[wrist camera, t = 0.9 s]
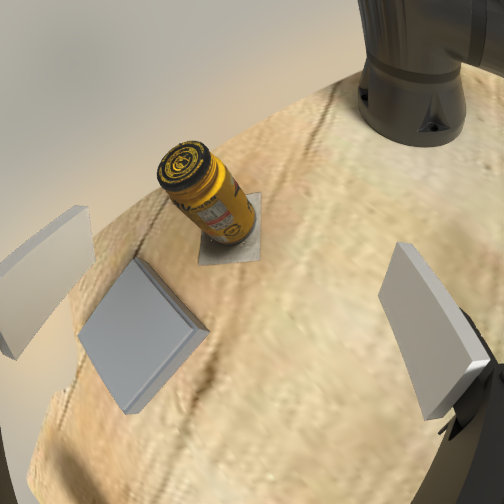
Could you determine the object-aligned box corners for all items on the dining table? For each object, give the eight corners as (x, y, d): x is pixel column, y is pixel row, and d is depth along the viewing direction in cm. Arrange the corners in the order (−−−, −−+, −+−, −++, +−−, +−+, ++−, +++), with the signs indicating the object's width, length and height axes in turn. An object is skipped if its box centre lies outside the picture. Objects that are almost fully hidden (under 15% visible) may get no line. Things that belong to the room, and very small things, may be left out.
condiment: (261, 192, 35) (219, 124, 25) (260, 260, 32) (209, 205, 22) (206, 202, 38) (152, 144, 27) (199, 266, 35) (133, 220, 24)
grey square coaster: (147, 263, 37) (133, 254, 35) (210, 332, 31) (196, 328, 29) (90, 338, 36) (74, 335, 34) (138, 413, 30) (121, 414, 28)
